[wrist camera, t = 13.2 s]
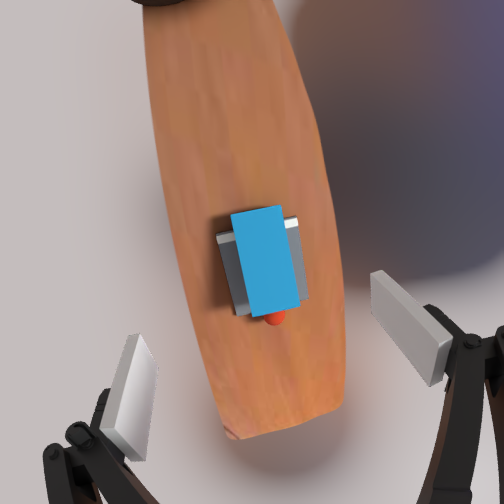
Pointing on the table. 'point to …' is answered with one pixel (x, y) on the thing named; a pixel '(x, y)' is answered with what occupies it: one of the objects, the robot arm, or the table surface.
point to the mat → (235, 271)
